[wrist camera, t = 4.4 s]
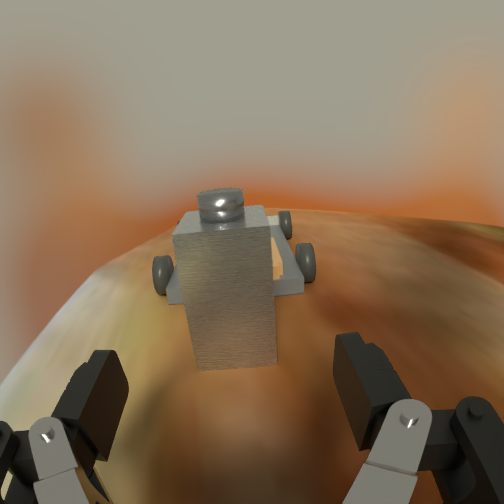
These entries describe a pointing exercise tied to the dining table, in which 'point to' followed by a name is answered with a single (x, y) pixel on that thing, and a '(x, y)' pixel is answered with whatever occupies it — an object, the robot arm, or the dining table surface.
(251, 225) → the block
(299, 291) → the chassis
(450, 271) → the dining table surface
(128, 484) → the dining table surface
